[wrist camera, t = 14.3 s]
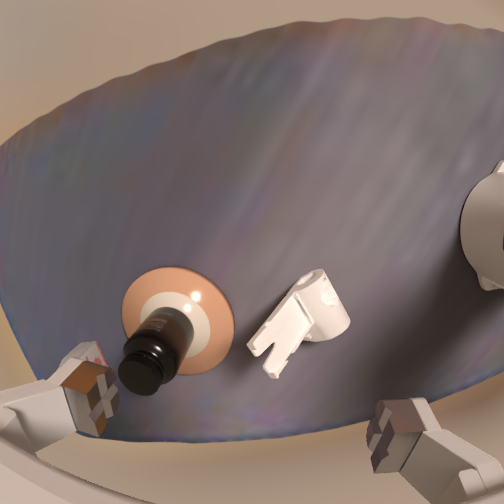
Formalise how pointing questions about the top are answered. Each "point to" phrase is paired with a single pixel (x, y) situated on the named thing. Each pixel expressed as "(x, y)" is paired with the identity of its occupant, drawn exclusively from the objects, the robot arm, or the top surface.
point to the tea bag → (86, 353)
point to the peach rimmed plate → (191, 304)
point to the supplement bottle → (155, 350)
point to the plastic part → (300, 320)
